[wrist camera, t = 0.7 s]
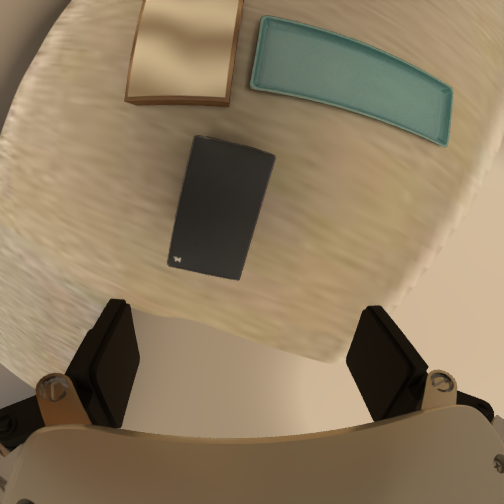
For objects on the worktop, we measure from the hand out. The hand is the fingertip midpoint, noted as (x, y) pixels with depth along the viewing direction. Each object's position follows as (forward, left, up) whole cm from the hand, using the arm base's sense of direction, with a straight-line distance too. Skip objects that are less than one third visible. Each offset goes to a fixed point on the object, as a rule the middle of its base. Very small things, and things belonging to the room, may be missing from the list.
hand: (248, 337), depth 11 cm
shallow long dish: (-17, +13, -23) cm, 31 cm away
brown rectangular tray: (-18, -7, -22) cm, 29 cm away
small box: (-2, -2, -22) cm, 22 cm away
